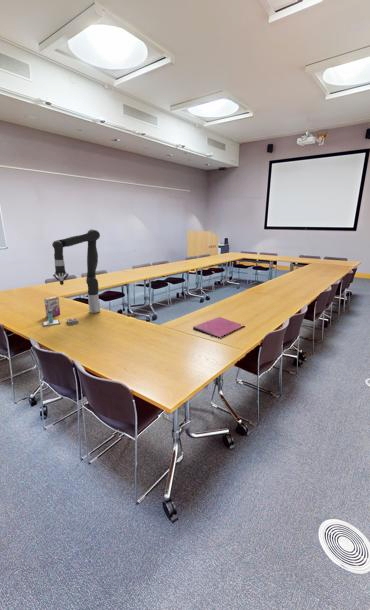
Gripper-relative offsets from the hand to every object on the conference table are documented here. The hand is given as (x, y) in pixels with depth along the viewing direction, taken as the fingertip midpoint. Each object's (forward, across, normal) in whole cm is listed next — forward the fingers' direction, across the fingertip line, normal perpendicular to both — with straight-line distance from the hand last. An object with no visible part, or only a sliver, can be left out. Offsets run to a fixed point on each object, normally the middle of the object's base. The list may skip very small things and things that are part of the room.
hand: (61, 284), depth 249 cm
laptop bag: (+30, -105, +87) cm, 139 cm away
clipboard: (+29, +13, +13) cm, 34 cm away
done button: (+28, -3, +19) cm, 34 cm away
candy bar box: (+29, +9, -8) cm, 32 cm away
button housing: (+29, -3, +19) cm, 35 cm away
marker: (+28, +13, +13) cm, 34 cm away
